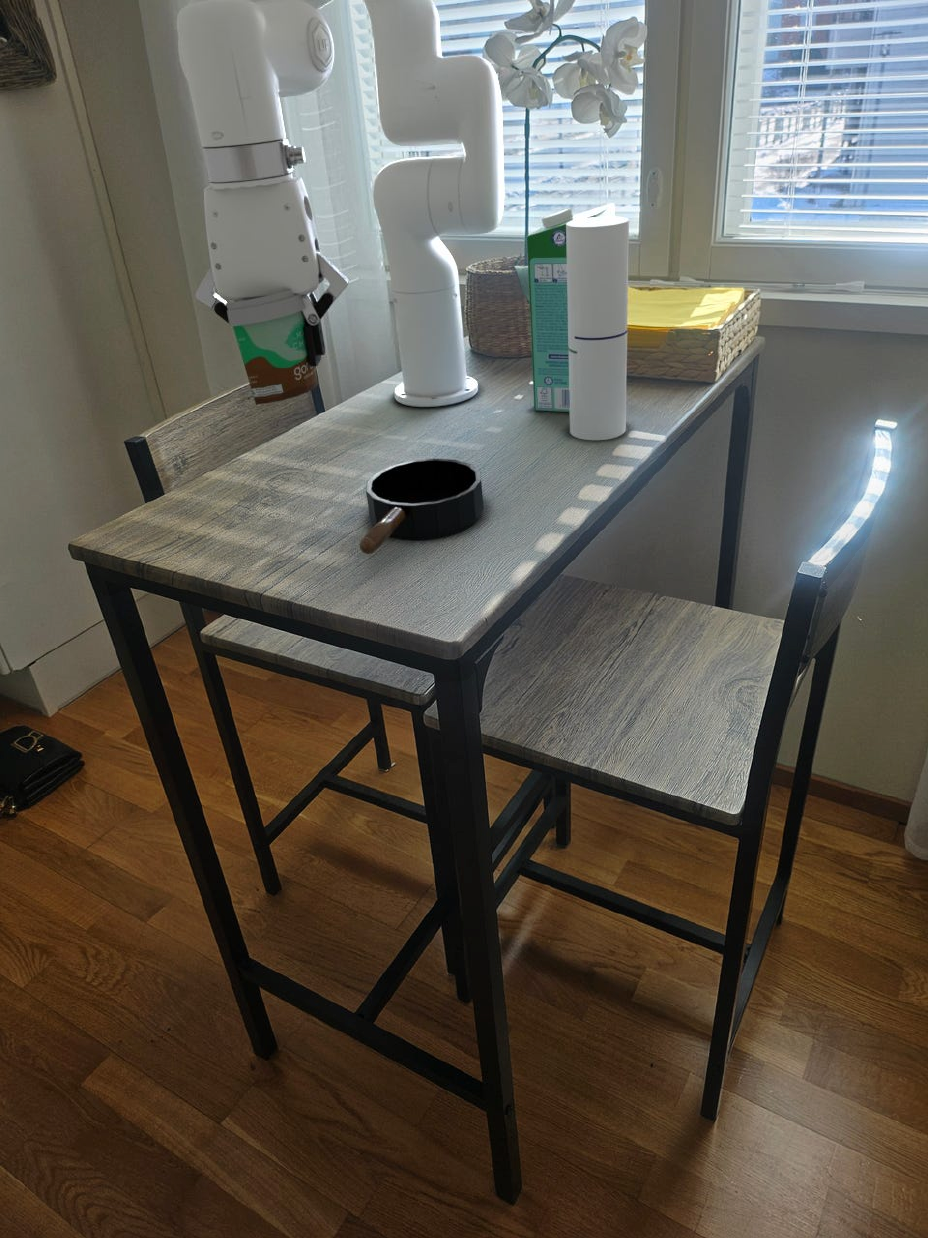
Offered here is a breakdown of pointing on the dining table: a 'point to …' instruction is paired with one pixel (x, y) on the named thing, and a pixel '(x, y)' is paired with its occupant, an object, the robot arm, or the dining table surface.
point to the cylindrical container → (597, 325)
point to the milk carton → (551, 308)
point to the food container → (273, 345)
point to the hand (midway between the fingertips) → (286, 363)
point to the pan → (422, 501)
